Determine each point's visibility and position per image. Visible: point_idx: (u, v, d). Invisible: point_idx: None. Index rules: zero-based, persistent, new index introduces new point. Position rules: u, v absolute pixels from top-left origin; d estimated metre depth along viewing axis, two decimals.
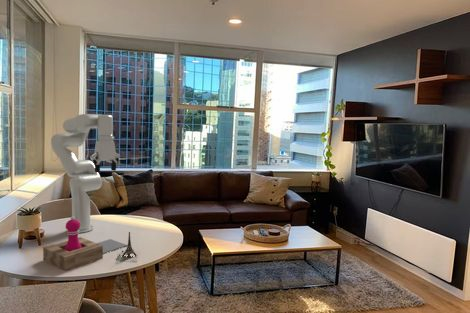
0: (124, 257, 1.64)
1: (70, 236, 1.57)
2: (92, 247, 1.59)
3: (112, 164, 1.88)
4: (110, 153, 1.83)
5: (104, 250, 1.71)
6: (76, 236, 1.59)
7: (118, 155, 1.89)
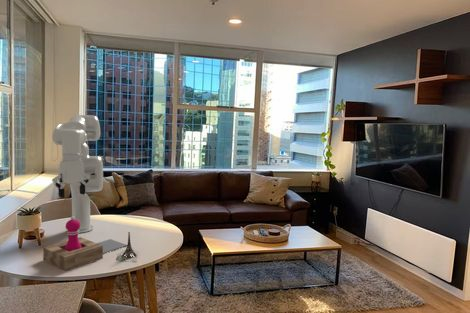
0: (124, 257, 1.64)
1: (70, 236, 1.57)
2: (92, 247, 1.59)
3: (81, 187, 1.61)
4: (77, 174, 1.56)
5: (104, 250, 1.71)
6: (76, 236, 1.59)
7: (88, 176, 1.62)
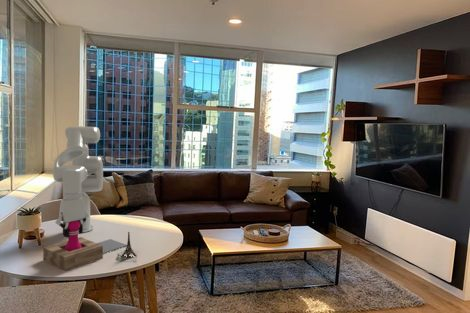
0: (123, 257, 1.64)
1: (70, 236, 1.57)
2: (92, 247, 1.59)
3: None
4: (78, 212, 1.58)
5: (104, 250, 1.71)
6: (76, 236, 1.59)
7: (87, 215, 1.64)
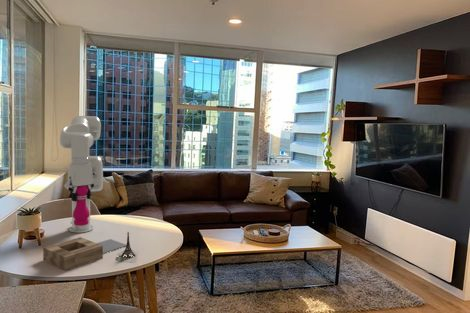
0: (123, 257, 1.64)
1: (78, 200, 1.60)
2: (92, 247, 1.59)
3: None
4: (86, 177, 1.60)
5: (104, 250, 1.71)
6: (84, 201, 1.61)
7: (94, 181, 1.66)
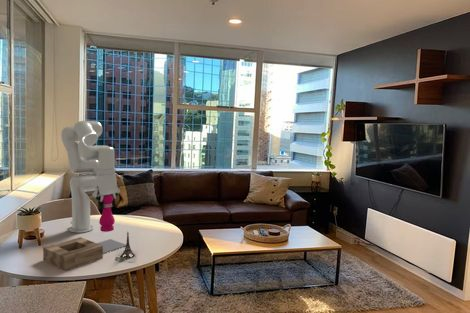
0: (123, 257, 1.64)
1: (105, 208, 1.73)
2: (92, 247, 1.59)
3: None
4: (111, 187, 1.74)
5: (104, 250, 1.71)
6: (110, 208, 1.74)
7: (118, 190, 1.79)
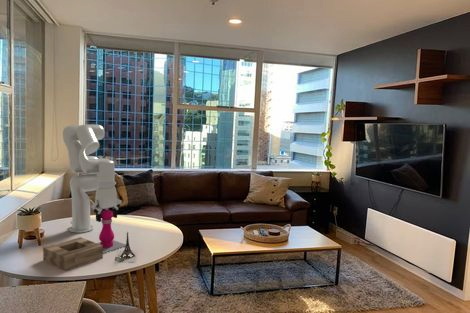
0: (122, 258, 1.64)
1: (105, 224, 1.74)
2: (92, 247, 1.59)
3: (113, 211, 1.79)
4: (111, 200, 1.74)
5: (104, 250, 1.71)
6: (109, 224, 1.75)
7: (120, 201, 1.81)
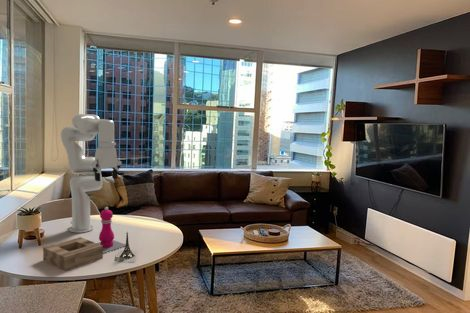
0: (122, 258, 1.63)
1: (104, 224, 1.74)
2: (92, 247, 1.59)
3: (113, 172, 1.77)
4: (111, 160, 1.72)
5: (104, 250, 1.71)
6: (109, 224, 1.75)
7: (120, 162, 1.79)
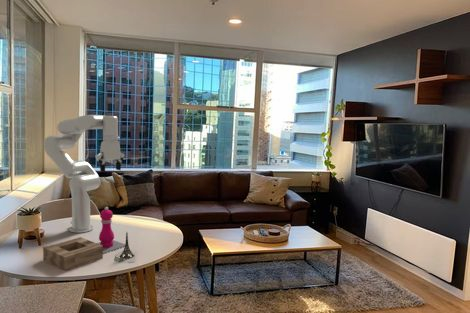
0: (122, 258, 1.63)
1: (104, 224, 1.74)
2: (92, 247, 1.59)
3: (117, 164, 1.93)
4: (115, 153, 1.88)
5: (104, 250, 1.71)
6: (109, 224, 1.75)
7: (123, 155, 1.94)
